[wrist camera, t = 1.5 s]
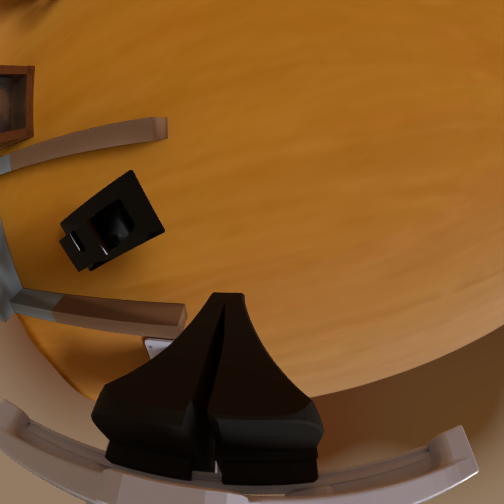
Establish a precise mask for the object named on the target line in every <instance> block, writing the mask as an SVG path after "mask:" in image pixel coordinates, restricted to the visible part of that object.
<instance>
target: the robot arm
mask: <svg viewBox="0 0 504 504" xmlns="http://www.w3.org/2000/svg"><path fill="white" fill-rule="evenodd" d="M145 345H146V348H147V351H148V354H149V356H150V359H151V360H150V361H148V362H147V363H145V364H144V365H142V366H141V367H139V368H137V369H136V370H134V371H132V372H130V373H129V374H127V375H125V376H123V377H121V378H119V379H116V380H114V381H112V382H110V383H108V384H105V386H104V388H103V389H102V391H101V393H100V395H99V397H98V399H97V402H96V404H95V407H94V409H93V411H92V414H91V417H92V420H93V422H94V423H95V425H96V426H97V427H98V429H99V430H101V432H102V433H103V434H104V435H105V436H106V437H107V438H108V439H109V440H108V444H107V447H106V451H104V450H101V449H98V448H95V447H92V446H89V445H87V444H84V443H81V442H79V441H76V440H74V439H71V438H69V437H67V436H64V435H62V434H60V433H57V432H55V431H53V430H51V429H49V428H47V427H45V426H43V425H41V424H39V423H37V422H35V421H33V420H31V419H30V418H29V417H28V416H27V415H26V413H25V412H24V411H23V410H21V409H20V408H19V407H17V406H16V405H14V404H12V403H11V402H9V401H8V400H6V399H3V401H2V403H1V404H0V450H1V451H2V452H4V453H5V454H6V455H7V456H9V457H10V458H11V459H13V460H14V461H16V462H17V463H18V464H20V465H22V466H23V467H24V468H26V469H27V470H29V471H30V472H32V473H33V474H35V475H37V476H39V477H40V478H42V479H43V480H45V481H47V482H49V483H50V484H52V485H54V486H56V487H58V488H59V489H61V490H63V491H65V492H67V493H69V494H71V495H73V496H75V497H77V498H80V499H82V500H84V501H86V504H420V503H422V502H424V501H427V500H429V499H431V498H433V497H435V496H437V495H439V494H442V493H444V492H445V491H447V490H449V489H451V488H453V487H455V486H456V485H458V484H460V483H462V482H463V481H465V480H467V479H468V478H470V477H471V476H473V475H475V474H476V473H478V471H479V469H478V466H477V463H476V460H475V458H474V455H473V452H472V449H471V447H470V444H469V442H468V439H467V437H466V434H465V432H464V429H463V427H462V425H459V426H457V427H454V428H452V429H450V430H448V431H445V432H443V433H441V434H439V435H437V436H436V437H434V438H433V439H432V440H431V441H430V442H429V443H428V444H427V445H424V446H422V447H419V448H416V449H413V450H410V451H407V452H404V453H401V454H397V455H394V456H390V457H387V458H383V459H379V460H375V461H371V462H367V463H362V464H358V465H353V466H348V467H342V468H336V469H330V470H322V471H318V470H317V463H316V459H317V458H318V453H317V445H318V444H319V442H320V440H321V438H322V436H323V433H324V428H323V424H322V421H321V418H320V415H319V413H318V411H317V408H316V406H315V404H314V403H313V401H312V400H311V399H310V398H309V397H308V396H306V395H305V394H304V393H303V392H302V391H301V390H300V389H299V388H297V387H296V386H295V385H294V384H293V383H292V382H291V381H290V380H289V379H288V377H287V376H286V375H285V374H284V373H283V372H282V370H281V369H280V368H279V367H278V366H277V365H276V363H275V362H274V361H273V359H272V358H271V357H270V355H269V354H268V352H267V351H266V349H265V348H264V346H263V344H262V343H261V341H260V339H259V337H258V335H257V333H256V331H255V329H254V327H253V325H252V322H251V320H250V318H249V315H248V312H247V309H246V305H245V297H244V294H242V293H216V292H214V293H212V294H211V296H210V297H209V299H208V300H207V302H206V303H205V305H204V306H203V308H202V309H201V310H200V312H199V313H198V314H197V315H196V317H195V318H194V319H193V320H192V322H191V323H190V324H189V325H188V326H187V327H186V328H185V330H184V331H183V332H182V333H181V334H180V335H179V336H178V337H177V338H176V339H175V340H165V339H154V338H146V339H145ZM243 494H285V497H273V496H272V497H271V496H250V495H243Z"/></svg>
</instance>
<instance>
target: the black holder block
mask: <svg viewBox="0 0 504 504" xmlns="http://www.w3.org/2000/svg"><path fill="white" fill-rule="evenodd" d="M60 225H61V227H62V228H63V230H64V232H65V233H66V236H65V237H64V238H62V239H61V240H60V241H59V242H60V244H61V245H62V247H63V249H64V250H65V252H66V253H67V255H68V256H69V258H70V260H71V261H72V263H73V264H74V266H75V267H76V269H77V270H78V272H80V271H81V270H83V269H85V268H86V267H88V269H89V270H90V271H92V270H94V269H96V268H98V267H99V266H101V265H103V264H105V263H107V262H108V261H110V260H112V259H114V258H116V257H118V256H119V255H121V254H123V253H125V252H127V251H129V250H131V249H133V248H135V247H136V246H138V245H140V244H142V243H144V242H146V241H148V240H150V239H152V238H154V237H156V236H158V235H160V234H162V233H164V232H165V229H164V227H163V226H162V224H161V222H160V220H159V219H158V217H157V215H156V213H155V211H154V210H153V208H152V206H151V204H150V202H149V200H148V199H147V197H146V195H145V193H144V191H143V189H142V187H141V185H140V183H139V181H138V180H137V178H136V176H135V174H134V172H133V170H129V171H128V172H126V173H125V174H124V175H122V176H121V177H119V178H118V179H116V180H115V181H113V182H112V183H111V184H109V185H108V186H106V187H105V188H104V189H102V190H101V191H100V192H98V193H97V194H96V195H94V196H93V197H92V198H90V199H89V200H88V201H87V202H85V203H84V204H83V205H81V206H80V207H79V208H78V209H76V210H75V211H74V212H73V213H72V214H70V215H69V216H68V217H67V218H66V219H64V220H63V221H62V222H61V223H60Z"/></svg>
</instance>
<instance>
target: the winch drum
mask: <svg viewBox="0 0 504 504" xmlns="http://www.w3.org/2000/svg"><path fill="white" fill-rule="evenodd" d="M34 71H35V66H8V65H0V149H2V148H5V147H8V146H10V145H12V144H15V143H17V142H20V141H22V140H25V139H27V138H30V137H32V136H34V133H33V85H34Z"/></svg>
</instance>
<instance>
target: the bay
mask: <svg viewBox="0 0 504 504" xmlns="http://www.w3.org/2000/svg"><path fill="white" fill-rule="evenodd" d="M166 138H168V135H167V118H161V117H149V118H143V119H136V120H130V121H124V122H119V123H114V124H109V125H104V126H99V127H95V128H90V129H86V130H82V131H78V132H74V133H70V134H67V135H63V136H60V137H56V138H53V139H50V140H47V141H43V142H40V143H37V144H34V145H32V146H29V147H26V148H23V149H20V150H18V151H15V152H13V153H10V154H8V155H5V156H3V157H0V174H3V173H6V172H9V171H12V170H15V169H18V168H22V167H25V166H28V165H32V164H35V163H39V162H43V161H46V160H50V159H54V158H58V157H63V156H67V155H71V154H76V153H81V152H85V151H91V150H96V149H101V148H107V147H113V146H119V145H126V144H133V143H141V142H149V141H156V140H161V139H166ZM14 312H15V313H19V314H23V315H27V316H31V317H35V318H39V319H44V320H48V321H53V322H58V323H62V324H67V325H73V326H78V327H84V328H89V329H95V330H102V331H108V332H115V333H123V334H130V335H139V336H147V337H157V338H168V339H176V338H177V337H178V336H179V335H180V334H181V333H182V332H183V329H184V325H185V322H186V319H187V314H186V308H185V304H173V303H156V302H141V301H128V300H116V299H105V298H95V297H86V296H77V295H68V294H60V293H53V292H45V291H38V290H31V289H25V288H22V285H21V283H20V280H19V278H18V275H17V272H16V270H15V267H14V264H13V261H12V258H11V255H10V252H9V248H8V245H7V242H6V238H5V235H4V231H3V227H2V223H1V219H0V319H1V321H3V322H6V321H7V320H8V319H9V317H10V316H11V315H12V314H13V313H14Z"/></svg>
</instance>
